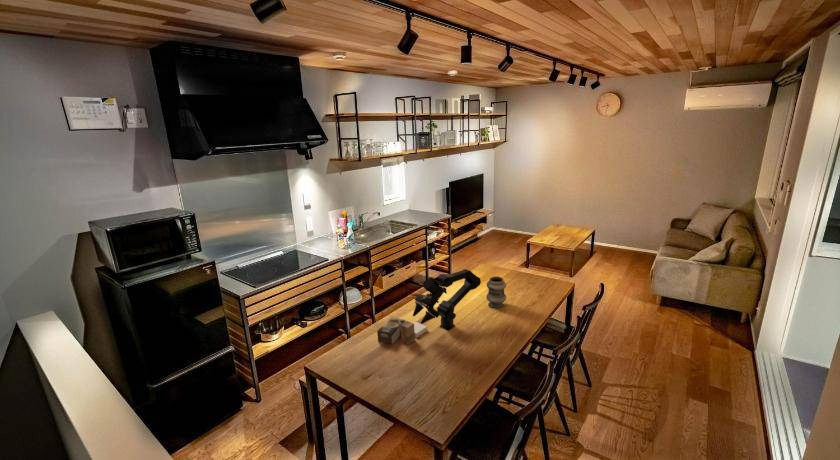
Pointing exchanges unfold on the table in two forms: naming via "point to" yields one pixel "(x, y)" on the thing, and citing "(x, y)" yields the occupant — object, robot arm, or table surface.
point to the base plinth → (419, 329)
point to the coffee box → (390, 330)
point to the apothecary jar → (496, 292)
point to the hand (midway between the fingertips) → (417, 319)
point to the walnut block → (407, 332)
